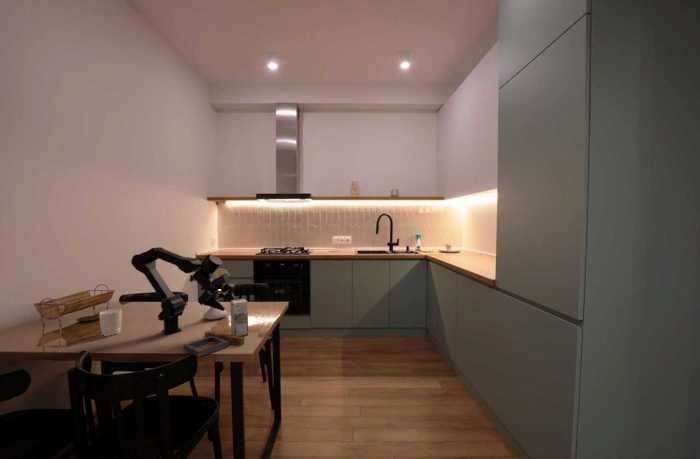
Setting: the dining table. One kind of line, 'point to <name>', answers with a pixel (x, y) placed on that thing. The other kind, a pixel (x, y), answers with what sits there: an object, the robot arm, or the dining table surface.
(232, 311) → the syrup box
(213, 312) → the flower in vase
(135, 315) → the dining table surface
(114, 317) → the white cup
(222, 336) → the walnut rail
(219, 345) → the keeper frame
